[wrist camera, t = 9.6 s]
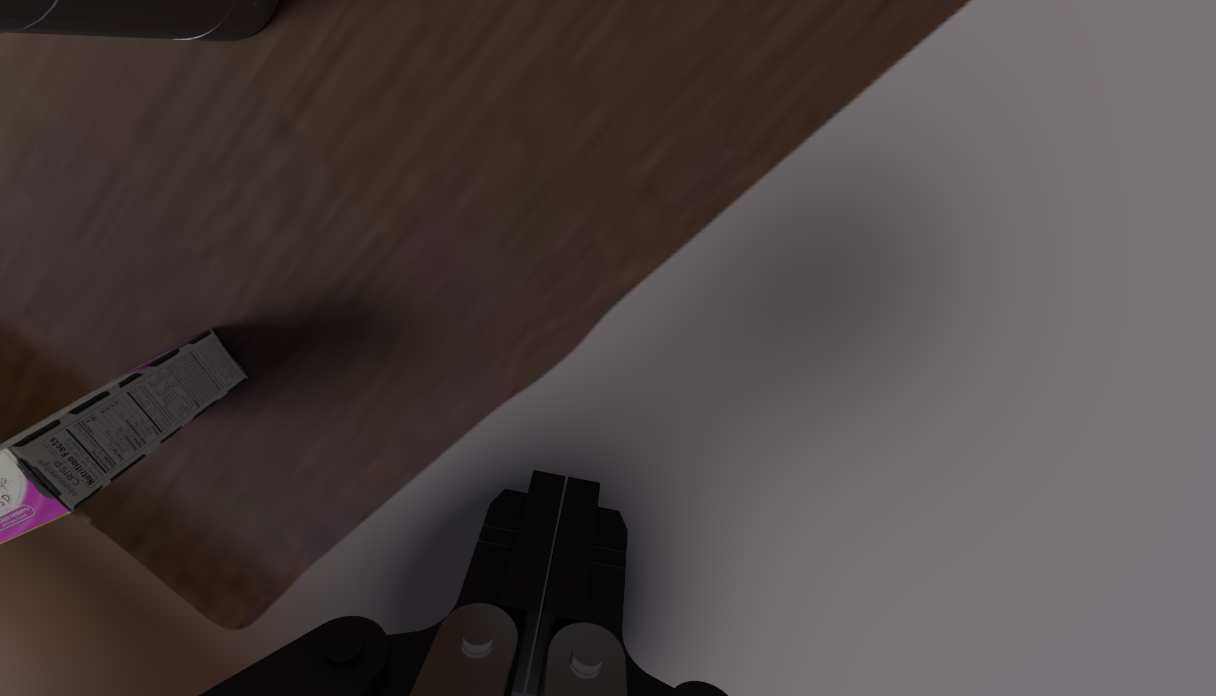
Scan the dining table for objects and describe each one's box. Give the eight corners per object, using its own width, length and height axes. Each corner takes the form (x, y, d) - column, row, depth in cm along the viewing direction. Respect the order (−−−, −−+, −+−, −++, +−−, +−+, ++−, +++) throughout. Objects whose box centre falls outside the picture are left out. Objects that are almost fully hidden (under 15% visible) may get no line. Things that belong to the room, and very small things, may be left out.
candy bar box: (157, 426, 52) (-53, 571, 37) (114, 377, 51) (-122, 508, 36) (255, 379, 49) (69, 517, 34) (214, 325, 47) (-1, 445, 33)
